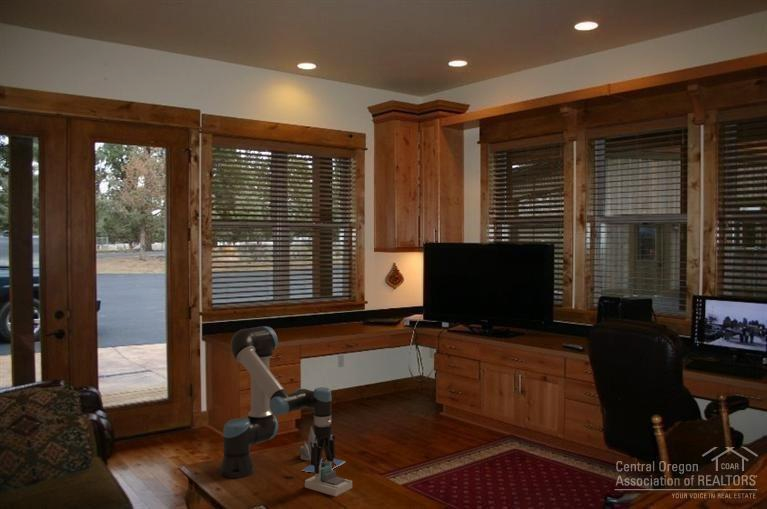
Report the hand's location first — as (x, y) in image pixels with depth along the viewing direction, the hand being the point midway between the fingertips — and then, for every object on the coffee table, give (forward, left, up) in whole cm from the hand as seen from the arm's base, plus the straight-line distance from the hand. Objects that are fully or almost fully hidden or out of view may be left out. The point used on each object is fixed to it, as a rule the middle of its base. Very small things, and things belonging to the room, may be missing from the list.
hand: (323, 478), depth 275 cm
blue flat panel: (-15, +18, -4) cm, 24 cm away
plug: (0, 0, -3) cm, 3 cm away
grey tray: (+3, 0, -3) cm, 5 cm away
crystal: (-29, +24, -4) cm, 38 cm away
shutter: (+6, 0, 0) cm, 6 cm away
